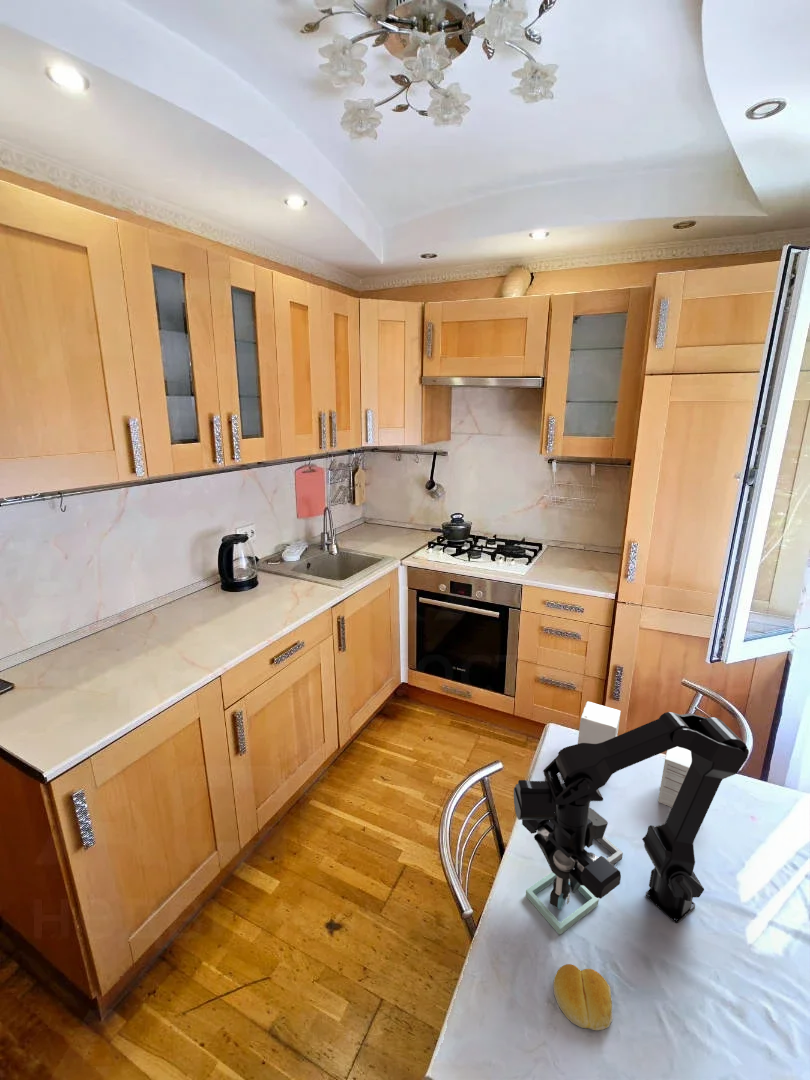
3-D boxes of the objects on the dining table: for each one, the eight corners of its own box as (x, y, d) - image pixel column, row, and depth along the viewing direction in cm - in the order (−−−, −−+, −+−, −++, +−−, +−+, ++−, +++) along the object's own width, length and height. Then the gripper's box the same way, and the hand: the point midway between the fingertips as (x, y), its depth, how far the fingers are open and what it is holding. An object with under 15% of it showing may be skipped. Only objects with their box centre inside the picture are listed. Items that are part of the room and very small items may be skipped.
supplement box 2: (662, 783, 124) (669, 741, 120) (695, 796, 120) (703, 753, 116) (656, 802, 118) (664, 758, 115) (691, 816, 114) (700, 771, 110)
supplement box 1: (610, 778, 126) (616, 728, 122) (574, 765, 130) (579, 717, 126) (615, 757, 133) (621, 709, 129) (581, 746, 137) (586, 699, 134)
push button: (556, 876, 98) (559, 836, 96) (582, 892, 95) (586, 850, 92) (541, 900, 93) (544, 859, 91) (568, 918, 90) (572, 875, 88)
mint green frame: (597, 905, 93) (598, 899, 93) (559, 935, 88) (560, 928, 88) (562, 870, 101) (563, 864, 100) (525, 895, 95) (526, 889, 95)
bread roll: (552, 966, 83) (554, 949, 82) (607, 981, 81) (610, 963, 80) (553, 1023, 76) (556, 1005, 75) (615, 1041, 74) (618, 1022, 73)
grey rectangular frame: (622, 858, 103) (622, 852, 103) (588, 882, 98) (589, 876, 98) (588, 829, 110) (589, 823, 110) (556, 850, 105) (556, 844, 105)
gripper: (645, 832, 85) (634, 900, 89) (561, 767, 101) (555, 827, 105) (604, 861, 80) (594, 932, 84) (522, 788, 95) (517, 851, 99)
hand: (564, 880), depth 93 cm, fingers closed on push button, 4 cm apart
